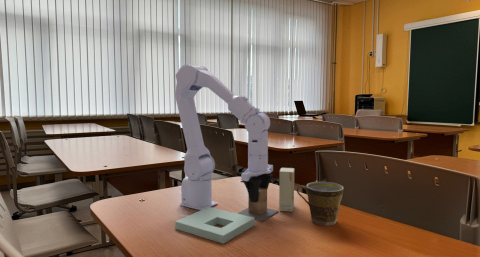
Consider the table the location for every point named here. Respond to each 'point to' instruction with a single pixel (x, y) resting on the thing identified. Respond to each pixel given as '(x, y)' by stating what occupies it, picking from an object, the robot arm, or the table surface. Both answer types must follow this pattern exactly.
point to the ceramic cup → (323, 201)
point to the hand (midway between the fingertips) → (257, 199)
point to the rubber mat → (259, 217)
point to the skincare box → (286, 189)
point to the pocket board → (209, 217)
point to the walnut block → (258, 203)
